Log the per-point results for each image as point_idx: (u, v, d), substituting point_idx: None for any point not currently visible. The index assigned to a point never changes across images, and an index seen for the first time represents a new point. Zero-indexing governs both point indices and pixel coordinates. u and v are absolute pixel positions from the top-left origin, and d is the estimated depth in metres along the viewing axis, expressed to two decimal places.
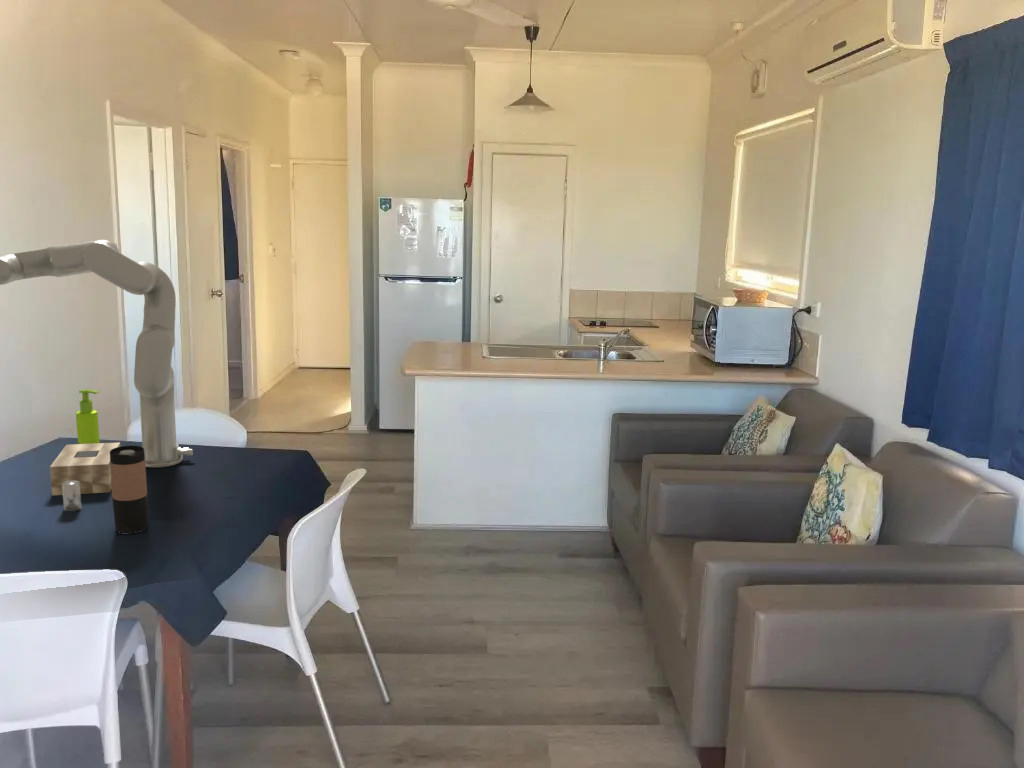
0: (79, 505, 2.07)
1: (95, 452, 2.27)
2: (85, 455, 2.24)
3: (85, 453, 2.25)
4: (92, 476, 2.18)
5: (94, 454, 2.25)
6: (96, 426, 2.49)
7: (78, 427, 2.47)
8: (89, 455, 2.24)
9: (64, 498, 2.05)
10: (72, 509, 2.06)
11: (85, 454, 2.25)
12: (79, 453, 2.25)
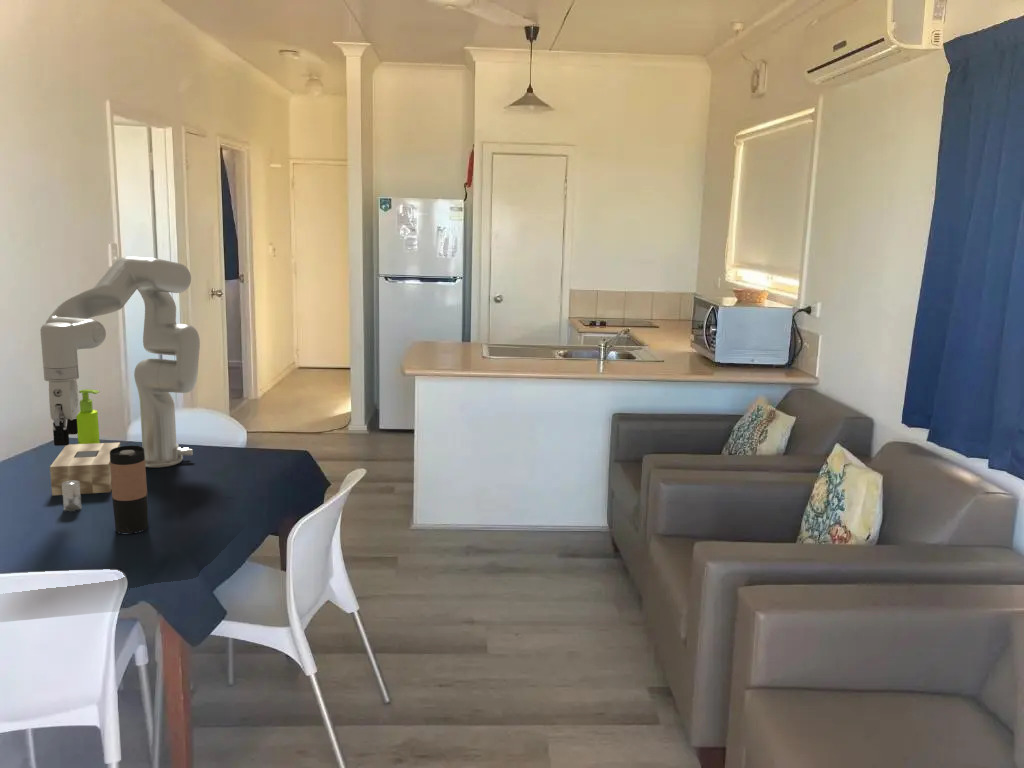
0: (79, 505, 2.07)
1: (95, 452, 2.27)
2: (85, 455, 2.24)
3: (85, 453, 2.25)
4: (92, 476, 2.18)
5: (94, 454, 2.25)
6: (96, 426, 2.49)
7: (78, 427, 2.47)
8: (89, 455, 2.24)
9: (64, 498, 2.05)
10: (72, 509, 2.06)
11: (85, 454, 2.25)
12: (79, 453, 2.25)
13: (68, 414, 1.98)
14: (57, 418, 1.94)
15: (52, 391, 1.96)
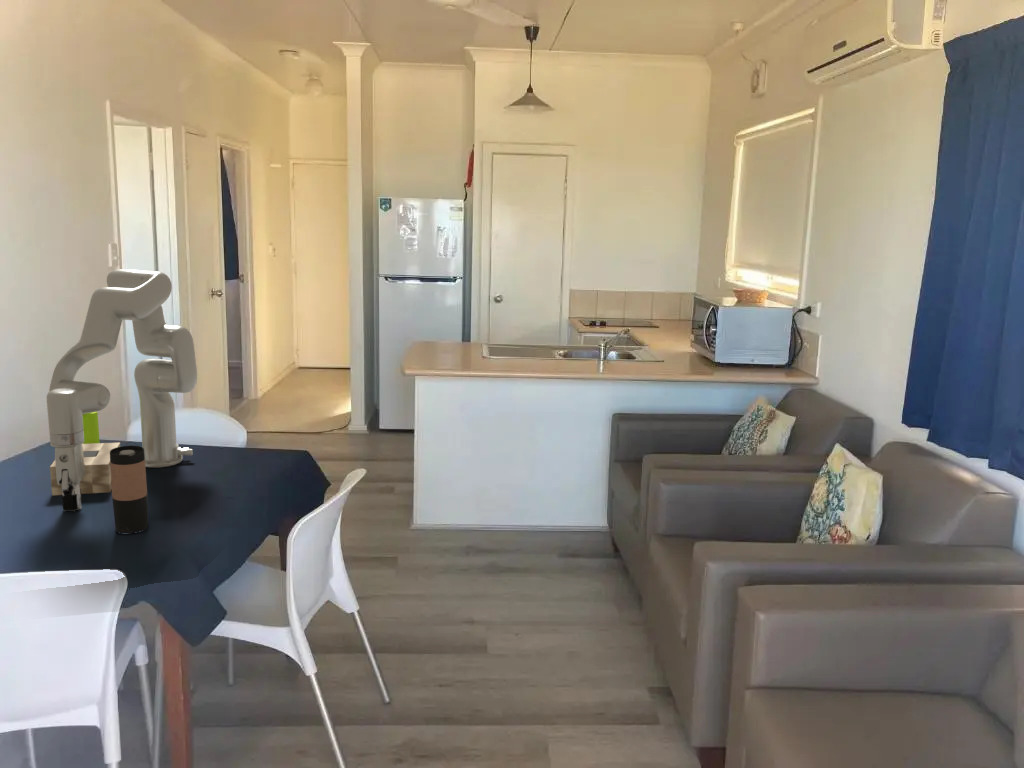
0: (79, 505, 2.07)
1: (95, 452, 2.27)
2: (85, 455, 2.24)
3: (85, 453, 2.25)
4: (92, 476, 2.18)
5: (94, 454, 2.25)
6: (96, 426, 2.49)
7: None
8: (89, 455, 2.24)
9: None
10: None
11: (85, 454, 2.25)
12: None
13: (74, 479, 2.01)
14: (66, 490, 2.00)
15: (58, 457, 1.99)
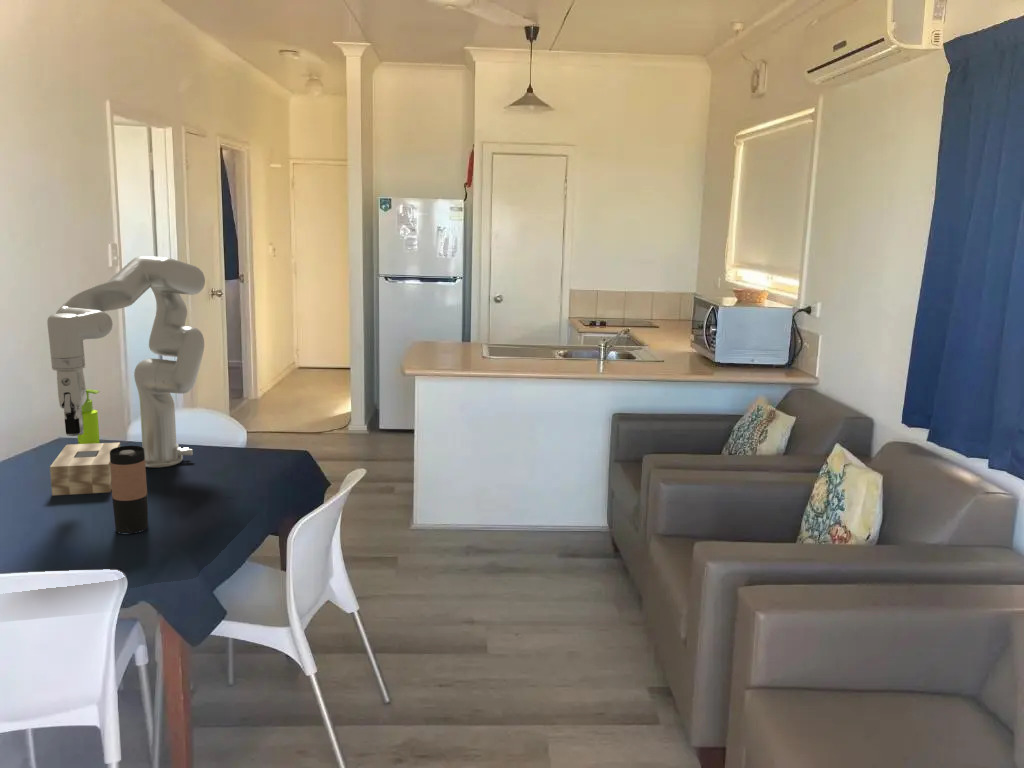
0: (81, 429, 2.10)
1: (95, 452, 2.27)
2: (85, 455, 2.24)
3: (85, 453, 2.25)
4: (92, 476, 2.18)
5: (94, 454, 2.25)
6: (96, 426, 2.49)
7: None
8: (89, 455, 2.24)
9: None
10: None
11: (85, 454, 2.25)
12: (79, 453, 2.25)
13: (76, 402, 2.05)
14: (68, 412, 2.03)
15: (60, 380, 2.03)
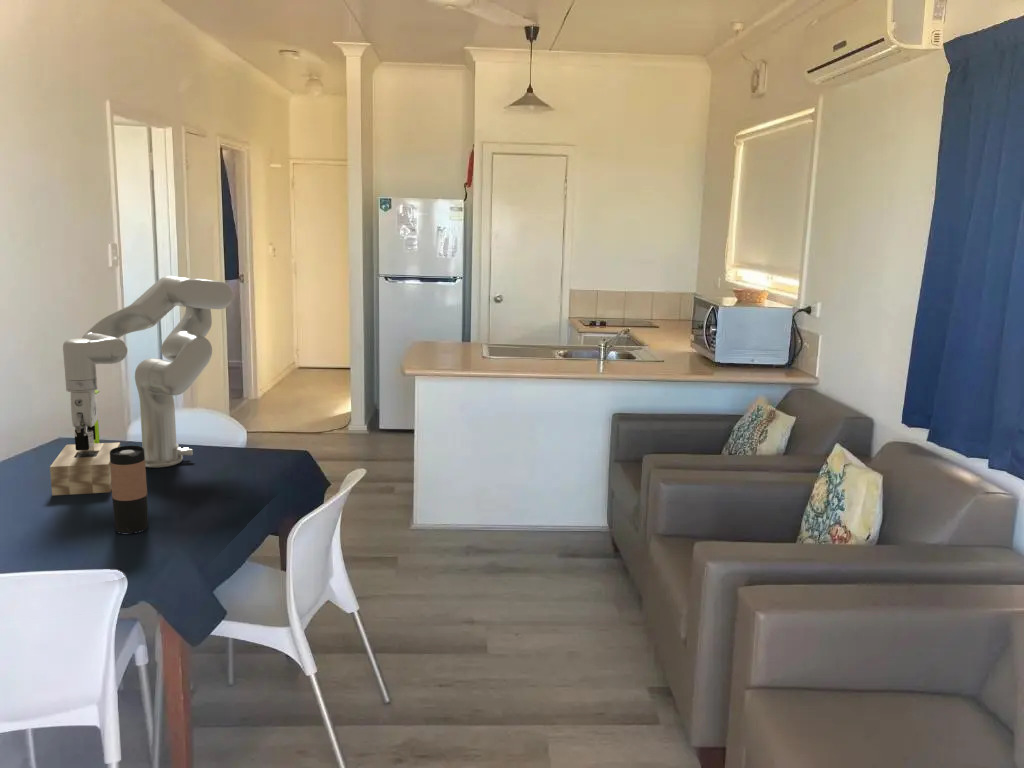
0: (92, 452, 2.25)
1: (95, 454, 2.27)
2: None
3: None
4: (92, 476, 2.18)
5: (94, 456, 2.25)
6: (96, 426, 2.49)
7: None
8: None
9: None
10: (86, 456, 2.23)
11: None
12: None
13: (88, 421, 2.19)
14: (79, 426, 2.15)
15: (74, 401, 2.17)
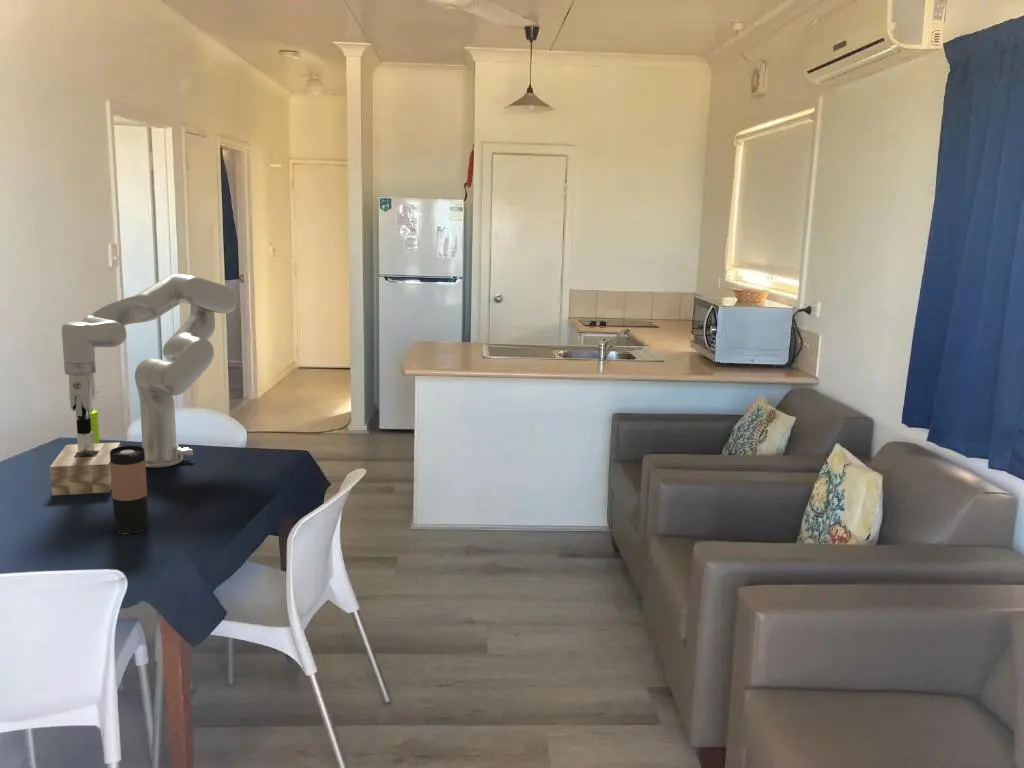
0: (92, 453, 2.25)
1: (95, 455, 2.27)
2: None
3: None
4: (92, 476, 2.18)
5: None
6: (96, 426, 2.49)
7: None
8: None
9: (79, 446, 2.23)
10: (86, 456, 2.23)
11: None
12: None
13: (86, 405, 2.18)
14: (80, 415, 2.18)
15: (72, 384, 2.16)
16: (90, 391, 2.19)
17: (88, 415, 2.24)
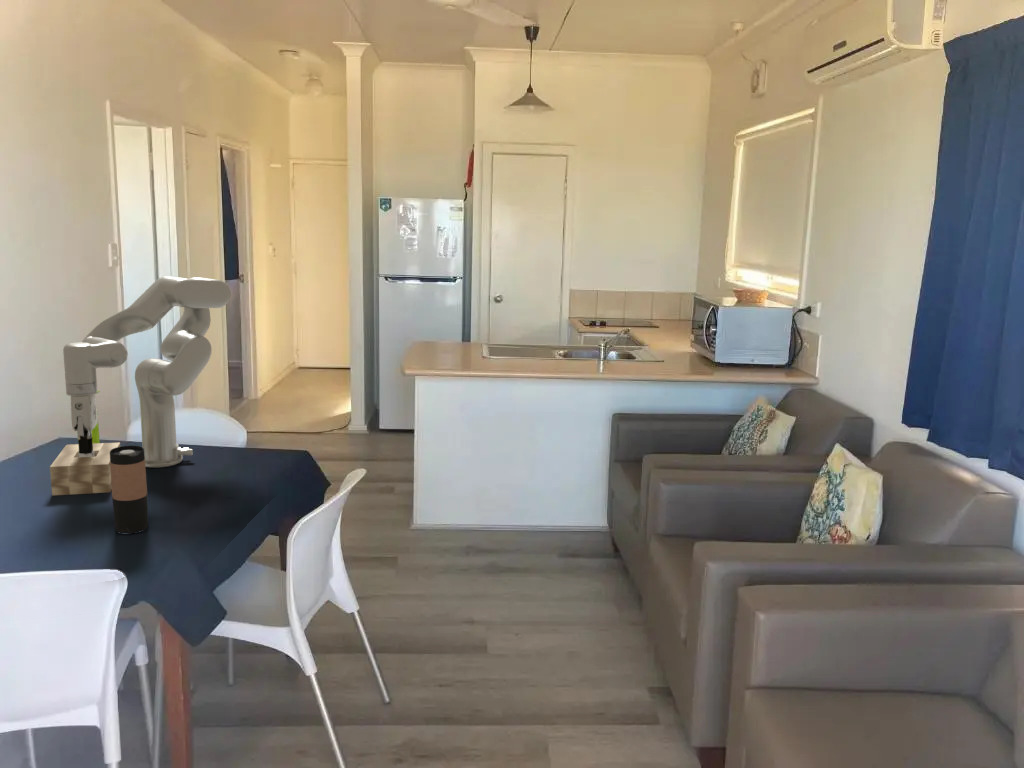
0: None
1: None
2: None
3: None
4: (92, 476, 2.18)
5: None
6: (96, 426, 2.49)
7: None
8: None
9: None
10: None
11: None
12: None
13: (88, 425, 2.19)
14: (82, 436, 2.19)
15: (74, 405, 2.17)
16: (92, 411, 2.20)
17: (90, 435, 2.25)
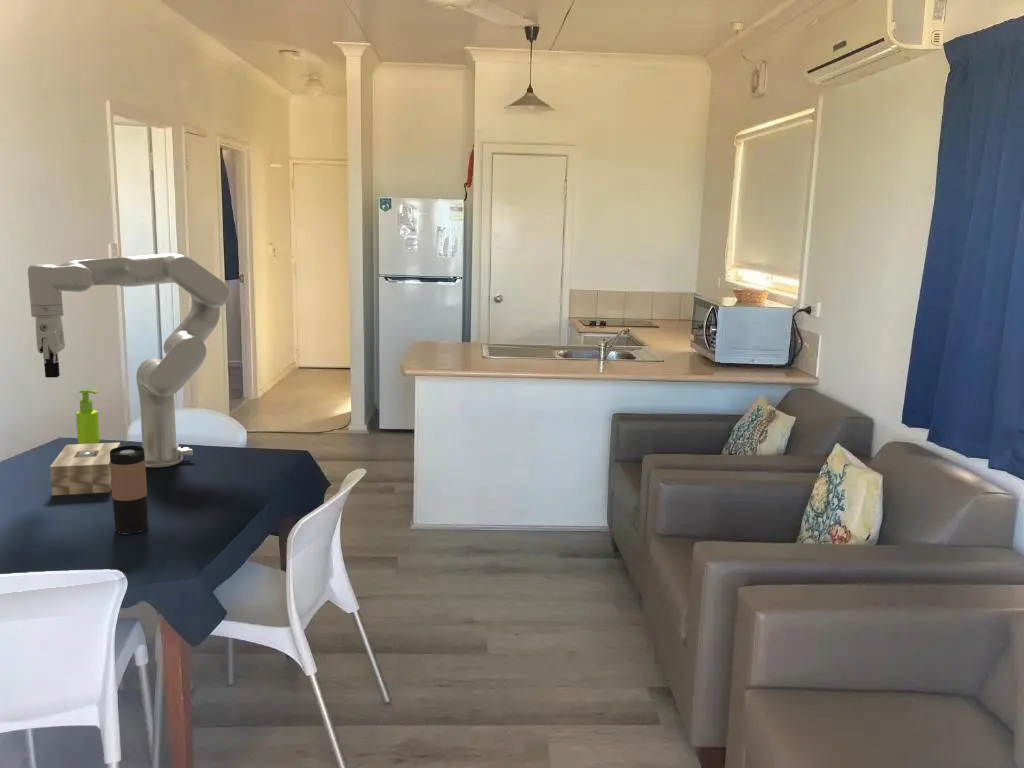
0: None
1: None
2: None
3: None
4: (92, 476, 2.18)
5: None
6: (96, 426, 2.49)
7: (78, 427, 2.47)
8: None
9: None
10: None
11: None
12: None
13: (53, 347, 2.17)
14: (47, 358, 2.17)
15: (39, 326, 2.15)
16: (57, 334, 2.18)
17: (56, 359, 2.23)
